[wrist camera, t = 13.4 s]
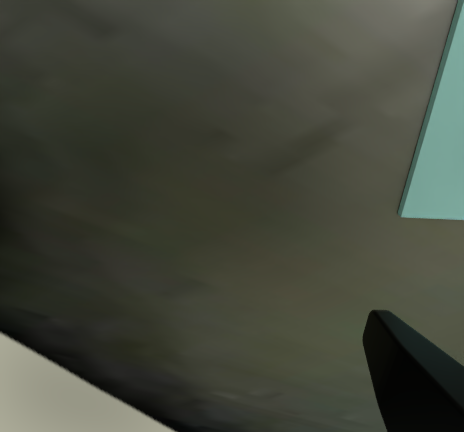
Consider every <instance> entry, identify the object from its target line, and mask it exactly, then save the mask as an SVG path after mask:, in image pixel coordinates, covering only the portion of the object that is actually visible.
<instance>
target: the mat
mask: <svg viewBox="0 0 464 432" xmlns="http://www.w3.org/2000/svg"><path fill="white" fill-rule="evenodd" d="M398 214H399V216H400V217H409V218H432V219H455V220H464V0H458V3H457V7H456V10H455V14H454V17H453V21H452V24H451V28H450V31H449V35H448V38H447V42H446V45H445V49H444V52H443V56H442V59H441V63H440V66H439V70H438V73H437V77H436V80H435V84H434V87H433V91H432V94H431V98H430V101H429V105H428V108H427V112H426V115H425V119H424V122H423V126H422V129H421V133H420V136H419V140H418V143H417V147H416V150H415V154H414V157H413V161H412V164H411V168H410V171H409V175H408V178H407V182H406V185H405V189H404V192H403V196H402V199H401V203H400V206H399V210H398Z"/></svg>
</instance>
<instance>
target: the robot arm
mask: <svg viewBox="0 0 464 432" xmlns="http://www.w3.org/2000/svg"><path fill="white" fill-rule="evenodd" d="M363 346H364V350H365V355H366V359H367V363H368V367H369V371H370V375H371V379H372V383H373V387H374V391H375V395H376V399H377V403H378V406H379V409H380V412H381V415H382V418H383V421H384V424H385V426H386V429H387V432H464V366H462V365H461V364H460V363H458V362H457V361H456V360H454V359H453V358H452V357H450V356H449V355H448V354H446V353H445V352H444V351H442V350H441V349H440V348H438V347H437V346H436V345H434V344H433V343H432V342H430V341H429V340H428V339H426V338H425V337H424V336H422V335H421V334H420V333H418V332H417V331H416V330H414V329H413V328H412V327H410V326H409V325H408V324H406V323H405V322H404V321H402V320H401V319H400V318H398V317H397V316H396V315H394V314H393V313H391V312H390V311H388V310H372V311H371V312H370V313H369V316H368V319H367V323H366V326H365V330H364V333H363Z"/></svg>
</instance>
